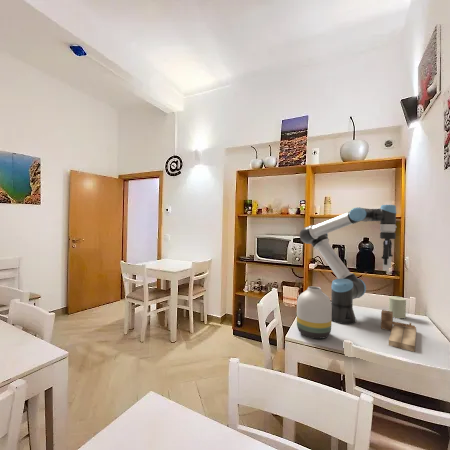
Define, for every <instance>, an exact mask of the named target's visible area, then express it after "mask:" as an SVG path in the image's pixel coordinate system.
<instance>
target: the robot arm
mask: <svg viewBox="0 0 450 450" xmlns="http://www.w3.org/2000/svg"><path fill="white" fill-rule="evenodd" d="M359 222H360V223H361V222H363V223H364V222H366V223H367V222H380V225H379V227H380V228H379V231H380V233H379V239H382V240H383V242H382V244H383V246H382V247H383V248H382V249H383V250H382V256H381V259H382V271H384V272H389V270H390V269H392V257H393V256H394V255H393V254H392V245H393V242H392V240H395V239H396V229H397V228H398V227H397V225H396V224H397V207H396V205H394V204H382V205H380V208H363V207H353V208H352V209H351V210H350V211H347V212H344V213H343V214H340V215H337V216H335V217H332V218H330V219H328V220H325V221H322V222H319V223H317V224H315V225H314V224H311V225H308V226H305V227H303V228H302V229H301V230H300V231H299V236H298V237H299V238H300V239H299V240H300V242H302V243H304V244H306V245H311V246H312V247H313V249H315V250H318V252H319V253H320V255H321V256H322V258H323V260H324V261H325V263H326V264H327V265H328V266H329V268H330V269H331V271H332V273H333V274H334V275H335V277H336V278H335V279H333V280H332V282H331V287H330V289H331V292H330V293H331V294H330V297H331V299H330V300H331V304H332V322H334V323H338V324H343V325H344V324H345V325H350V324H355V323H356V321H357V319H356V315H355V314H356V313H355V312H354V308H353V303H354V302H353V301H354V300H356V299H360V298H361V297H362V296H364V295H365V294H366V291H367V285H366V283H365V282H364V281H363V280H362V279H361V278H358V277H357V276H356V274H355V273H353V272H351V271H350V270H349V268H348V267H347V266H346V265H345V263H344V262H343V261H342V260H341V258H340V257H339V255H338V253H336V251H335V250H334V248H333V247H332V245H331V244H330V239H329V238H328V236H329V233H332V232H334V231H337V230H341V229H342V228H345V227H346V228H347V227H349V226H351V225H353V224H357V223H359ZM389 268H390V269H389Z"/></svg>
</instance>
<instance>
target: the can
mask: <svg viewBox="0 0 450 450" xmlns="http://www.w3.org/2000/svg"><path fill="white" fill-rule="evenodd" d="M406 308H407V299H406V298H405V297H401V296H396V295H394V296H393V295H391V296H388V311H392V312H393V317H395V318H394V319H396V318H407V316H406V315H407V313H406V312H407V311H406V310H407V309H406Z"/></svg>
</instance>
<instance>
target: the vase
mask: <svg viewBox="0 0 450 450" xmlns="http://www.w3.org/2000/svg"><path fill="white" fill-rule="evenodd" d="M296 301H297V302H296V327H297V330H298V331H299V333H300V334H302V335H303V336H305V337H308V338H311V339H315V340H316V339H318V340H319V339H325V338H327V337H328V336H330V334H331V331H332V323H333V321H332V304H331V299H330V297H329V296H328V295H327V294H326V293H324V292H323V291H322V288H321V287H320V286H312V285H311V286H308V287H307V289H306V290H304V291H303V292H301V293H300V294H299V296H298V297H297V300H296Z"/></svg>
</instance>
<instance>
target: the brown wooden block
mask: <svg viewBox="0 0 450 450" xmlns="http://www.w3.org/2000/svg"><path fill="white" fill-rule="evenodd" d="M380 315H381V317H380V318H381V319H380V329H382V330H387V331H390V332H391V331H392V328H393V324H395V325H400V326H405V327H409V328H414V329H415V327H416V325H413V324H412V323H411V322H409V324H407V323H404V322H403V323H402V322H399V321H393V319H394V318H393V312H392V311H389V310H385V309H382V310H381V314H380Z"/></svg>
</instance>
